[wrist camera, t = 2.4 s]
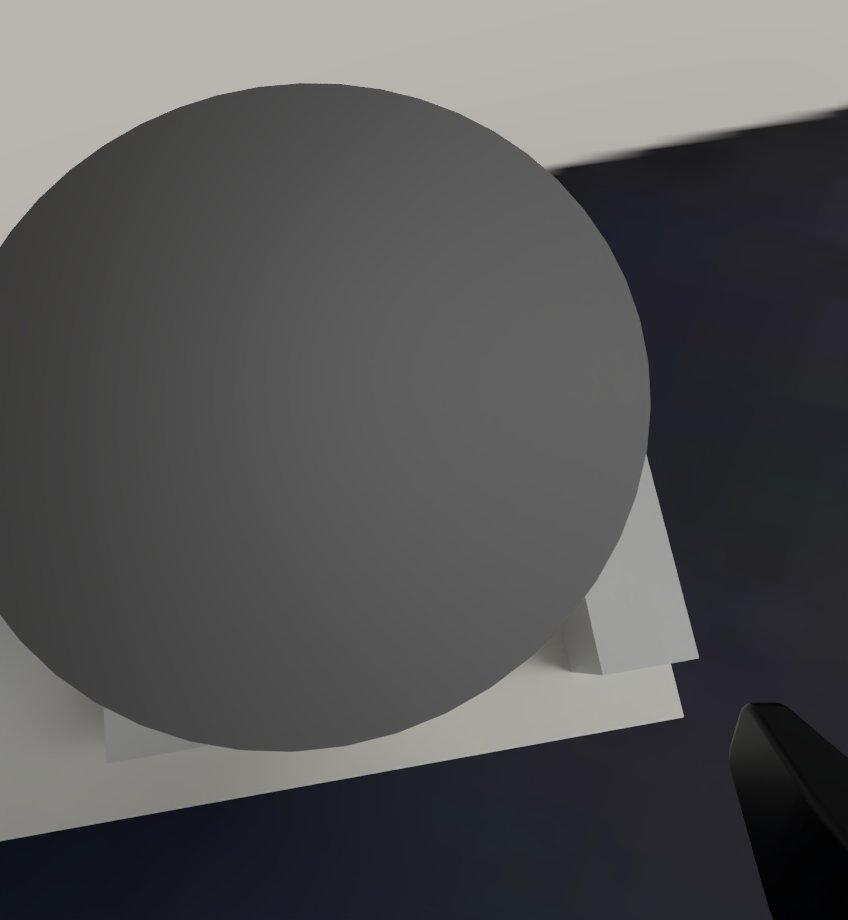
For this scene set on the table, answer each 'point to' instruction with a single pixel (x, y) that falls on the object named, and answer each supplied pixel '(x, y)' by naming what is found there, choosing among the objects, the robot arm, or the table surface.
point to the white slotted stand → (442, 738)
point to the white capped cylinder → (308, 416)
